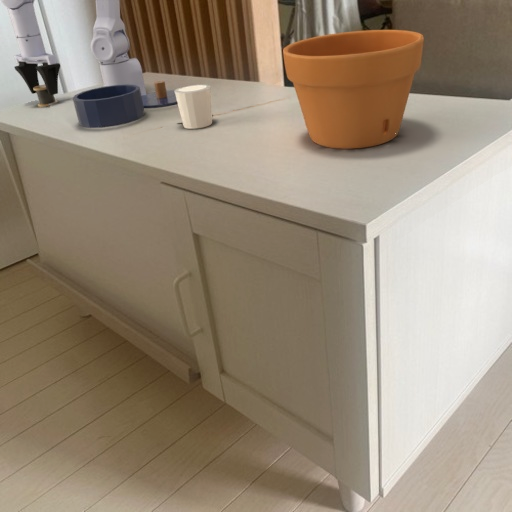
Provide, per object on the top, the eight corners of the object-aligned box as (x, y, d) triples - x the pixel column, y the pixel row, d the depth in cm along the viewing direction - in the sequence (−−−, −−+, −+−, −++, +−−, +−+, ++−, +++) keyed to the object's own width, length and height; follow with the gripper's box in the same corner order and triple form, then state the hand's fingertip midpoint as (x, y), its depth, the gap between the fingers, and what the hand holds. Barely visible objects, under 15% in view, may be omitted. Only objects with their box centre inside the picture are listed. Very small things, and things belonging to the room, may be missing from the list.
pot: (133, 108, 123) (128, 81, 120) (153, 119, 112) (148, 90, 109) (74, 121, 118) (66, 93, 115) (89, 134, 107) (81, 104, 104)
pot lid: (180, 91, 134) (177, 72, 132) (204, 100, 123) (201, 79, 121) (123, 103, 129) (119, 83, 126) (143, 114, 117) (139, 92, 115)
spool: (55, 100, 140) (50, 83, 138) (59, 103, 136) (54, 85, 134) (36, 104, 138) (31, 86, 136) (40, 107, 134) (34, 89, 132)
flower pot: (345, 167, 77) (342, 59, 70) (265, 138, 93) (256, 47, 86) (447, 132, 86) (455, 33, 79) (358, 111, 102) (358, 27, 95)
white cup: (220, 119, 107) (215, 83, 104) (206, 129, 101) (201, 91, 98) (189, 119, 109) (183, 84, 106) (174, 129, 104) (167, 92, 100)
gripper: (-4, 38, 130) (14, 95, 137) (31, 38, 122) (48, 99, 129) (22, 34, 135) (38, 89, 142) (57, 33, 127) (72, 92, 134)
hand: (44, 93), depth 136 cm, fingers open, 7 cm apart
